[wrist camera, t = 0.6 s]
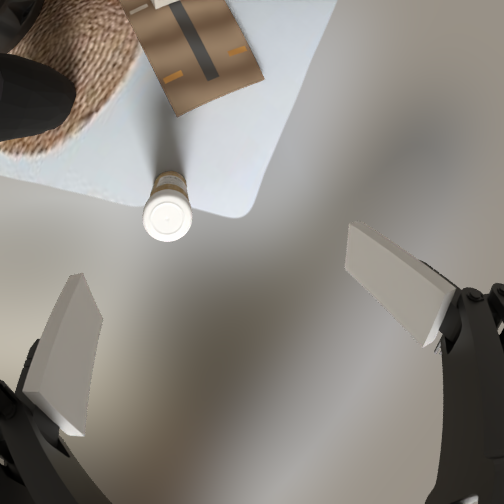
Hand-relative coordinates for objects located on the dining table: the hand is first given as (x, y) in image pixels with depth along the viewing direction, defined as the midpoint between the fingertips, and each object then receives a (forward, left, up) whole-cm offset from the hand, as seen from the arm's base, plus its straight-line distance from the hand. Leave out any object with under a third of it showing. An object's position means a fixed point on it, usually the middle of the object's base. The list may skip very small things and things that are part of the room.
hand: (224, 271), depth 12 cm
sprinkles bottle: (0, -3, -26) cm, 26 cm away
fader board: (-19, +8, -26) cm, 33 cm away
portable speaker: (-20, -12, -26) cm, 35 cm away
